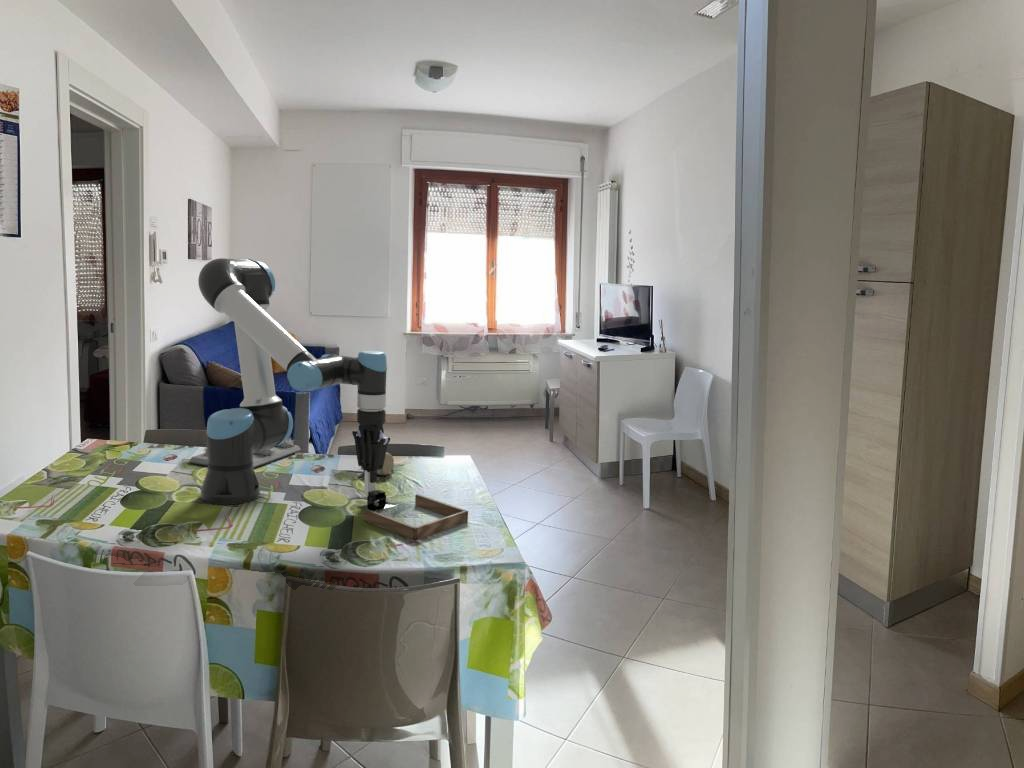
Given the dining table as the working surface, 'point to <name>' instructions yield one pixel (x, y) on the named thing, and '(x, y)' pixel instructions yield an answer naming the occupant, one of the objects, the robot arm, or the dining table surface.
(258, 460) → the flat grey tray
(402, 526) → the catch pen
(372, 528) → the dining table surface
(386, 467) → the ceramic mug
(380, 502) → the black wall mount bracket
